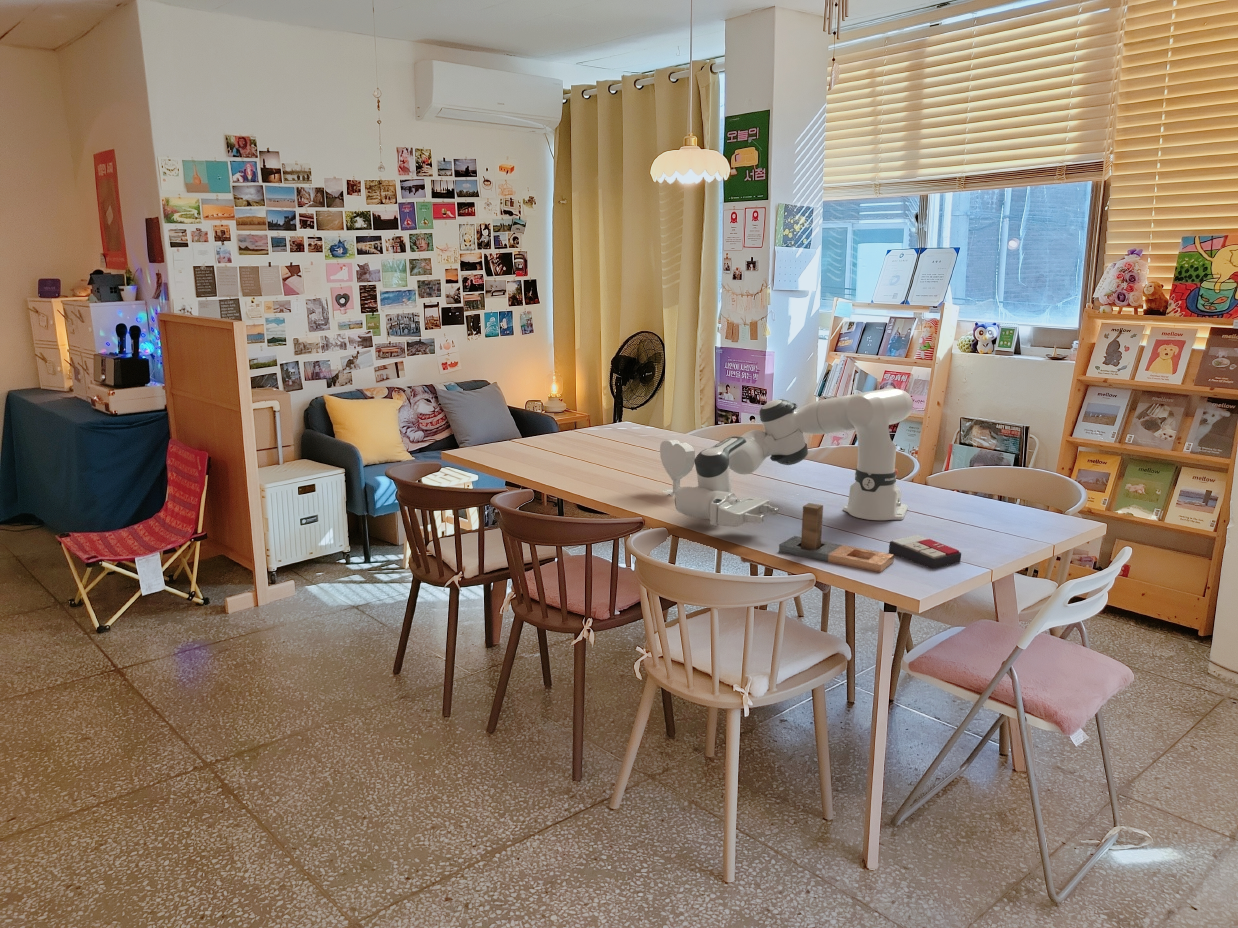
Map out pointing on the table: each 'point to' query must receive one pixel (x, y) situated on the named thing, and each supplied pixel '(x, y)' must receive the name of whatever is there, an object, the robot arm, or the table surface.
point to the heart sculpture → (676, 461)
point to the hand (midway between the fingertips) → (769, 515)
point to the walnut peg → (812, 526)
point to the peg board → (839, 554)
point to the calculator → (924, 551)
